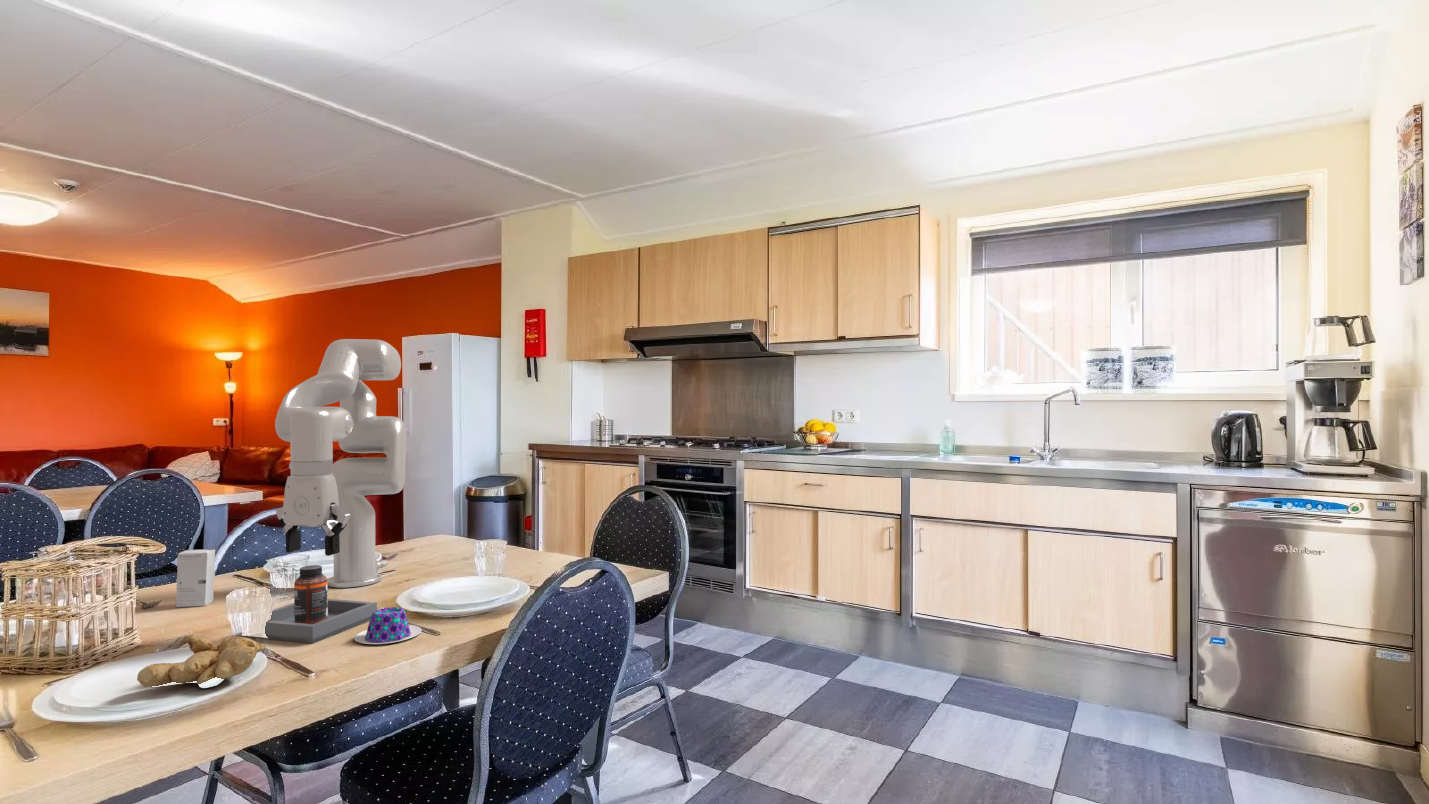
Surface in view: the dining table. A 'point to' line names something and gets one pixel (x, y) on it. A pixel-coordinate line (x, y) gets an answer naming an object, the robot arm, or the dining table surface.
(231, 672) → the ginger root
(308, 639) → the tray
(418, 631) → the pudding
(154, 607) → the dining table surface
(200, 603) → the skincare box
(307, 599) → the supplement bottle
